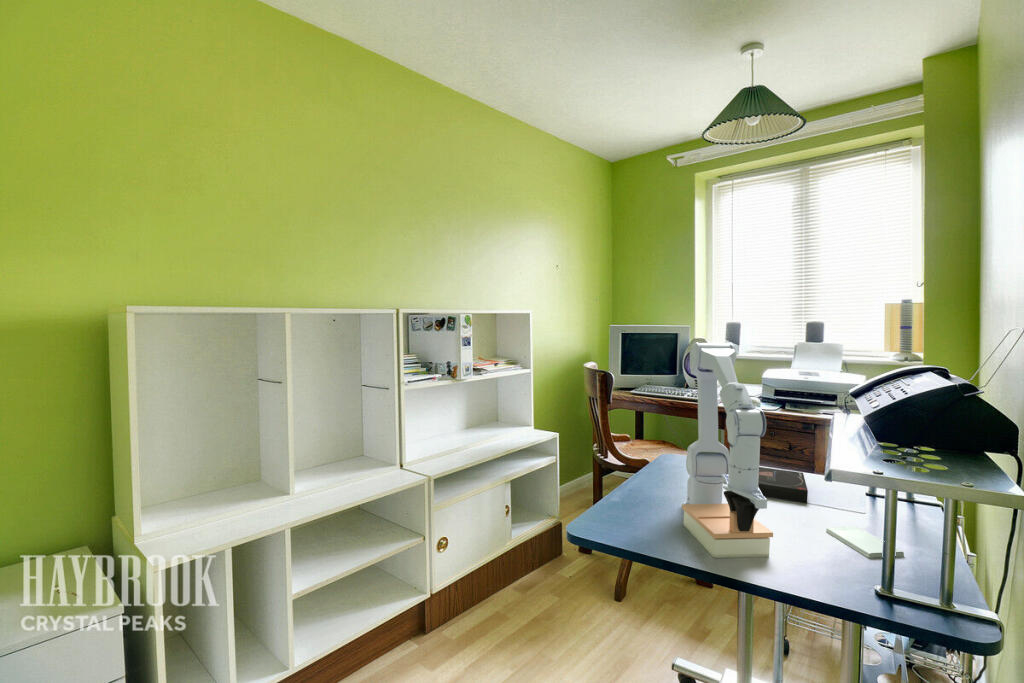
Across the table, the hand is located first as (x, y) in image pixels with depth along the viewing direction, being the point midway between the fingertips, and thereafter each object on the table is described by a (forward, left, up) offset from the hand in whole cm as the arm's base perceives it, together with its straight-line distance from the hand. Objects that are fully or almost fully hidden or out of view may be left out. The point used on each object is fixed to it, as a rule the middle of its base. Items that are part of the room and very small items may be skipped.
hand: (741, 528), depth 105 cm
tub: (-7, 0, -6) cm, 10 cm away
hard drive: (-4, +31, -7) cm, 32 cm away
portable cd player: (-38, +30, -7) cm, 49 cm away
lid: (-7, 0, -2) cm, 8 cm away
